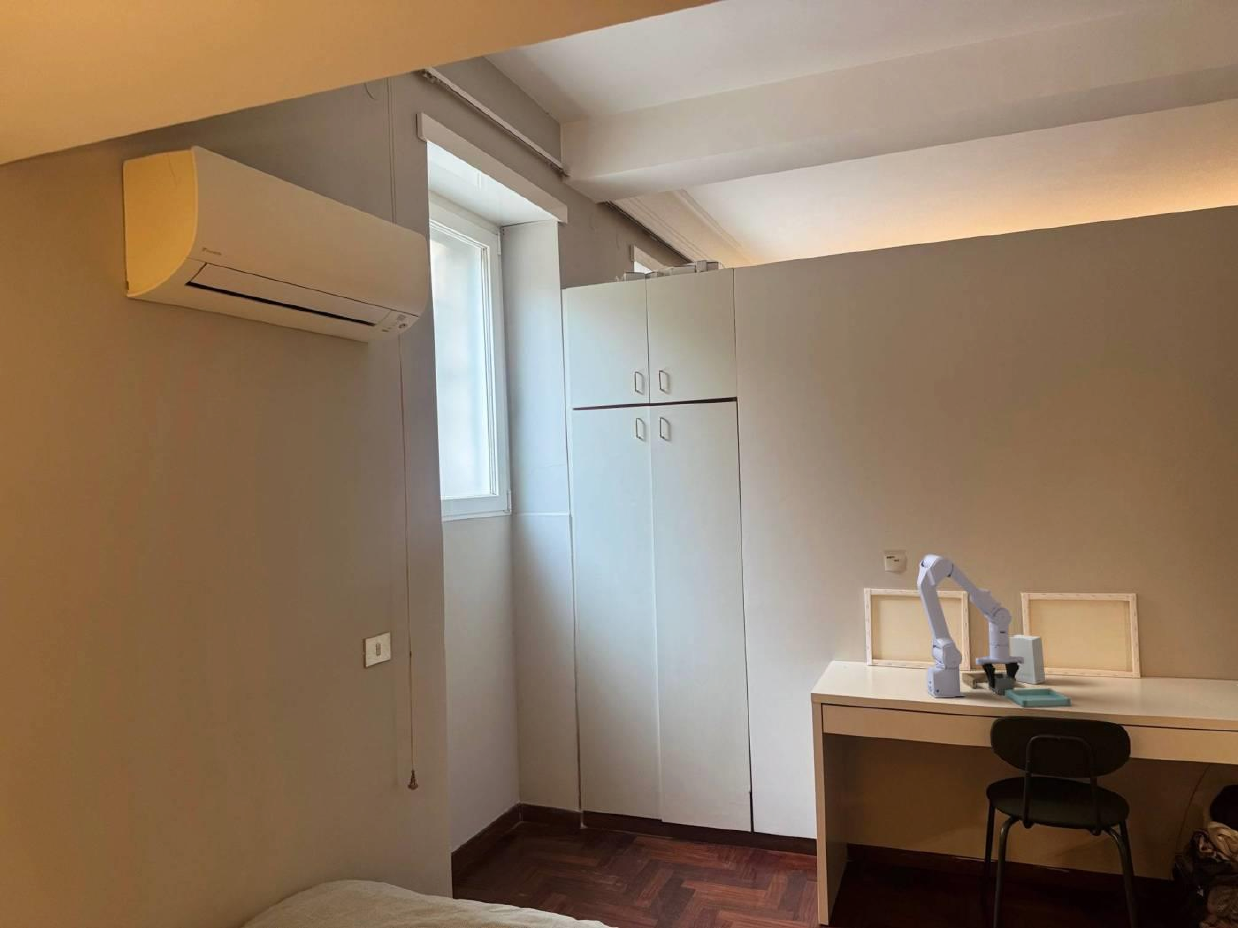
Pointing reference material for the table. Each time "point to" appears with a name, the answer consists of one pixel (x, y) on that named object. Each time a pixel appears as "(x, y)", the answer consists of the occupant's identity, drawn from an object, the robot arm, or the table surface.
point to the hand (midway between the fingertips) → (1001, 686)
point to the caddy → (1002, 683)
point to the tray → (1037, 697)
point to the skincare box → (1028, 658)
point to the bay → (977, 678)
